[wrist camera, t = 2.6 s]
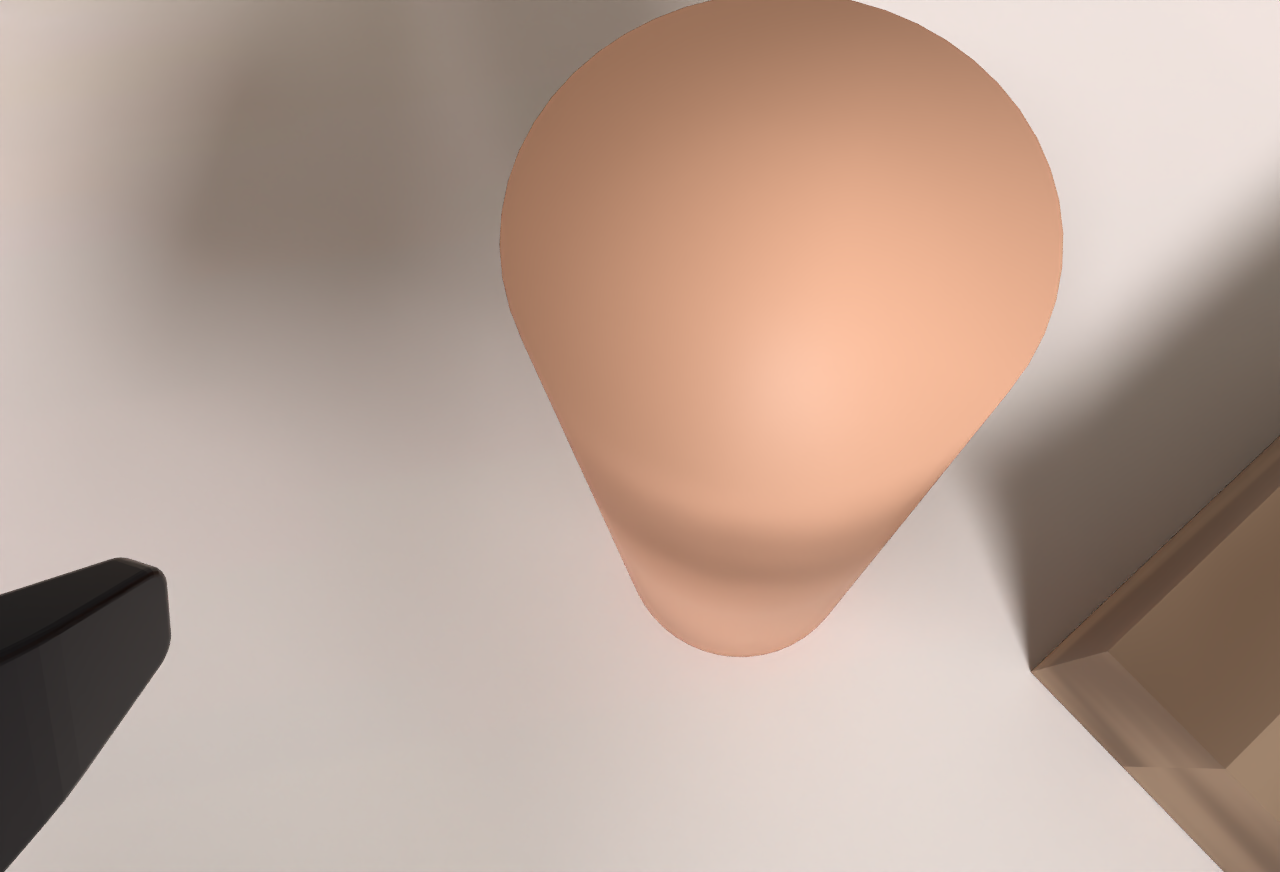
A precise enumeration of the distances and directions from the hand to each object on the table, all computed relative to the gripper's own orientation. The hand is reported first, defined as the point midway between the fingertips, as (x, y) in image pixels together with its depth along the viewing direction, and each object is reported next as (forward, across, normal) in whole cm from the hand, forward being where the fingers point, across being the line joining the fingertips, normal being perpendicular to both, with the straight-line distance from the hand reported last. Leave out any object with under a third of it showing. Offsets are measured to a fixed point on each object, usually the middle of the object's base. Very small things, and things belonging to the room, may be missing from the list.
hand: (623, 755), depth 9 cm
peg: (+11, 0, +5) cm, 12 cm away
